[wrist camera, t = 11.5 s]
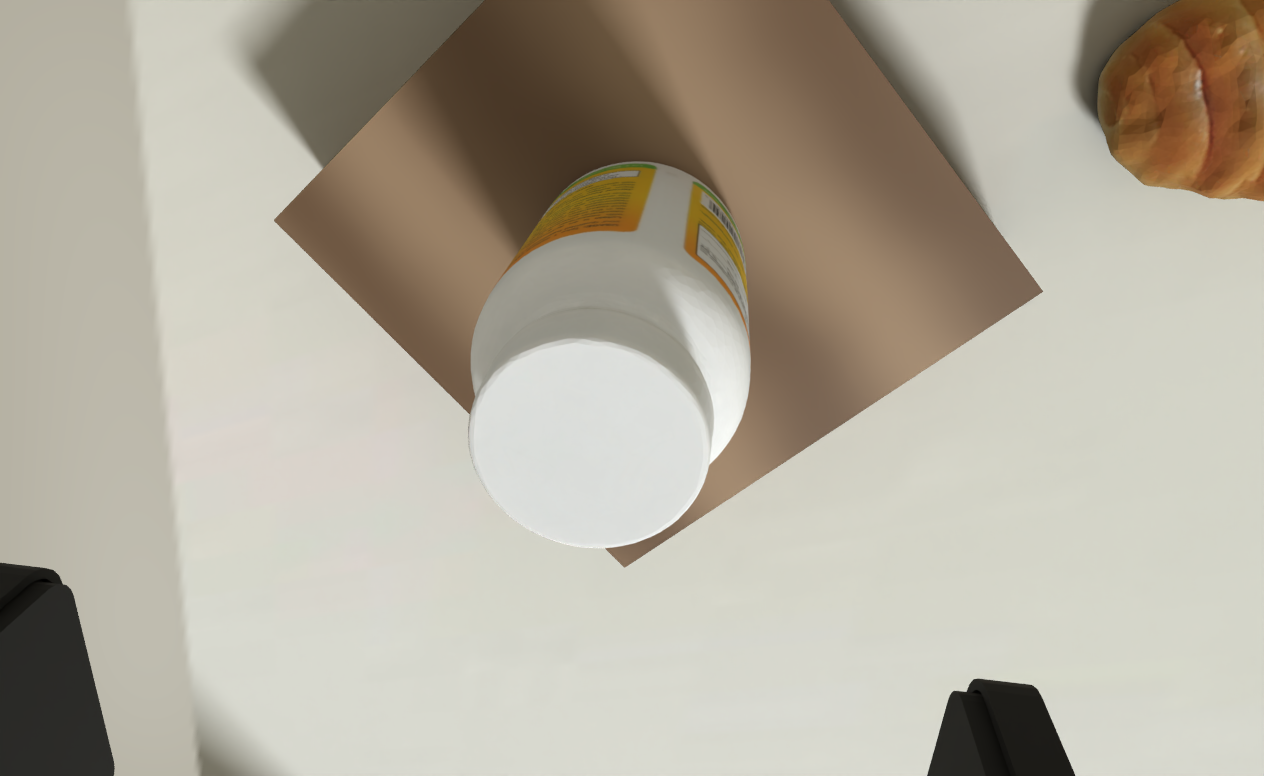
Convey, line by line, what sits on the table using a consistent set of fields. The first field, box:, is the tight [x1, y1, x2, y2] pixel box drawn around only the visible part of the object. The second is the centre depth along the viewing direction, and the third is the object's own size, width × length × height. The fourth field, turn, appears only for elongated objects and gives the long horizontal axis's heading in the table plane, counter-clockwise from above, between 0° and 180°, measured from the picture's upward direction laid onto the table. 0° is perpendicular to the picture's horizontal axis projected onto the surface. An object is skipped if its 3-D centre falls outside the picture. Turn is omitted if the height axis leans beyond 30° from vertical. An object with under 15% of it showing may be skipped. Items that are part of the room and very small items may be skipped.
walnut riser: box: [274, 0, 1043, 568], centre depth 25 cm, size 14×14×4 cm
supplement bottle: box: [468, 161, 751, 548], centre depth 19 cm, size 5×5×10 cm
